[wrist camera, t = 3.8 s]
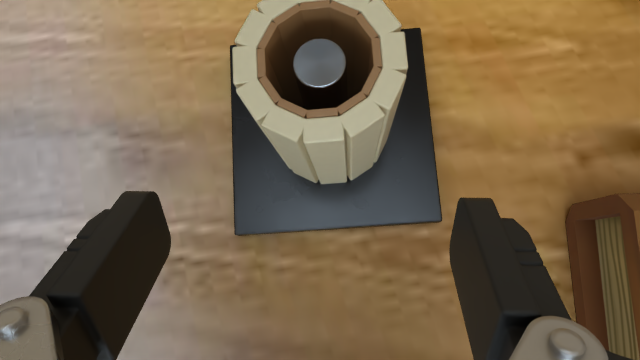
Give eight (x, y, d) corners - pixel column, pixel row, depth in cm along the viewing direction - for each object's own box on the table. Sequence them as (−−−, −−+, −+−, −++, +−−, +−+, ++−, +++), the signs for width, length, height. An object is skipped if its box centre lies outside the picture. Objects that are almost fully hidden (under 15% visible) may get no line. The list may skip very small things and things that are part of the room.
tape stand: (238, 235, 24) (171, 224, 15) (233, 51, 25) (171, -56, 17) (439, 222, 23) (494, 201, 14) (418, 34, 25) (454, -86, 16)
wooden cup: (276, 187, 23) (234, 148, 15) (272, 80, 24) (230, -13, 16) (391, 179, 23) (415, 134, 14) (381, 70, 24) (398, -30, 15)
